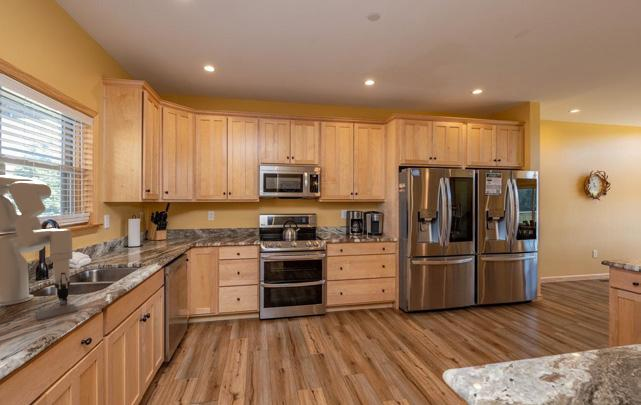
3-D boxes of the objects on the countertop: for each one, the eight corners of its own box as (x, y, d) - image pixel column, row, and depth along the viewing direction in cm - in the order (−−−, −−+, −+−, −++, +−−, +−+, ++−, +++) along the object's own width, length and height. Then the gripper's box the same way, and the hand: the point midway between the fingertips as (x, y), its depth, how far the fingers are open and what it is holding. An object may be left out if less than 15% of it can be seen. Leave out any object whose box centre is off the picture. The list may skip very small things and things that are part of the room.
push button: (71, 303, 127) (71, 282, 127) (55, 307, 123) (54, 284, 123) (70, 299, 132) (69, 278, 131) (54, 302, 128) (53, 281, 127)
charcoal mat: (35, 313, 117) (35, 311, 117) (73, 304, 126) (73, 303, 126) (37, 320, 109) (37, 319, 109) (77, 311, 118) (77, 310, 118)
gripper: (48, 255, 131) (49, 294, 131) (51, 260, 119) (53, 303, 119) (69, 253, 136) (71, 290, 136) (75, 257, 125) (76, 298, 125)
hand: (62, 296), depth 128 cm, fingers closed on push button, 4 cm apart
